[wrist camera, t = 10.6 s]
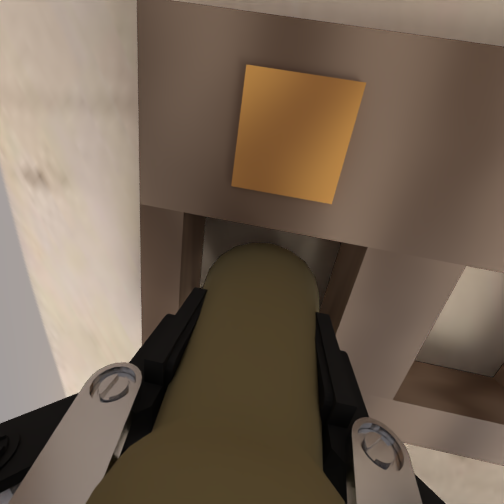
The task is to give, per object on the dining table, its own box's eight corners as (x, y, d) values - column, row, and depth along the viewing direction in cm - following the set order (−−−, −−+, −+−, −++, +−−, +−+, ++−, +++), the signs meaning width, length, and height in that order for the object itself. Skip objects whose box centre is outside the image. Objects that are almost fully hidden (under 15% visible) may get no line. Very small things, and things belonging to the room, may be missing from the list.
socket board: (735, 127, 10) (990, 108, 6) (500, 415, 16) (559, 484, 13) (179, 44, 11) (131, -11, 8) (168, 341, 18) (139, 386, 14)
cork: (184, 268, 12) (-266, 752, 2) (291, 222, 11) (435, 1123, 1) (235, 353, 14) (112, 859, 4) (335, 324, 13) (569, 1032, 2)
